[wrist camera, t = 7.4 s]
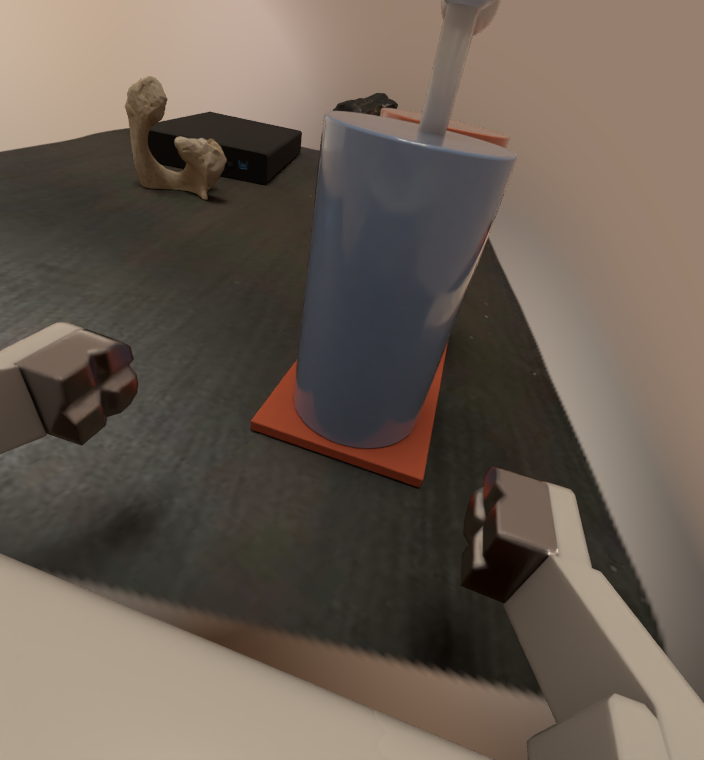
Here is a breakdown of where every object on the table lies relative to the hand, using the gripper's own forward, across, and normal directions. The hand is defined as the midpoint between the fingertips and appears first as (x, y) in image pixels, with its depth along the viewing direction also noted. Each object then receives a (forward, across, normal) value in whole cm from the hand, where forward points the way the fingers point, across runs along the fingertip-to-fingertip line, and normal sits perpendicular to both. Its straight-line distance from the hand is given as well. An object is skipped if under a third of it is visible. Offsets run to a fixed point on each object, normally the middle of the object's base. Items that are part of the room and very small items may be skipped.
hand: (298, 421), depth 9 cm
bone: (+30, -23, -6) cm, 38 cm away
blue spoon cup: (+7, 0, -5) cm, 8 cm away
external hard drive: (+48, -28, -6) cm, 56 cm away
